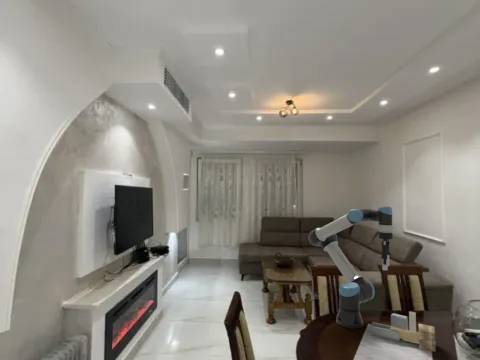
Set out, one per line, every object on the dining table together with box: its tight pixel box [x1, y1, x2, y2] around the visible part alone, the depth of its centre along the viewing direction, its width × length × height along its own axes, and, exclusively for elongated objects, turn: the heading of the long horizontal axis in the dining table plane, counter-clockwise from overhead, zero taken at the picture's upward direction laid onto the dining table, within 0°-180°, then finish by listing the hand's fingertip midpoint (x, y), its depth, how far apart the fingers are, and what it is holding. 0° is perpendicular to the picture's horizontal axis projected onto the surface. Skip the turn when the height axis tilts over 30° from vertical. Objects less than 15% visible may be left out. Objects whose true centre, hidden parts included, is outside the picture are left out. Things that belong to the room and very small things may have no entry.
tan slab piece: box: [390, 311, 419, 344], centre depth 156 cm, size 18×4×14 cm, turn 59°
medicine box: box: [390, 313, 409, 330], centre depth 168 cm, size 8×4×9 cm, turn 47°
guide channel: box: [369, 321, 401, 343], centre depth 161 cm, size 14×7×5 cm, turn 59°
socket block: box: [418, 323, 436, 353], centre depth 151 cm, size 7×9×9 cm
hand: (386, 267), depth 175 cm, fingers open, 13 cm apart
